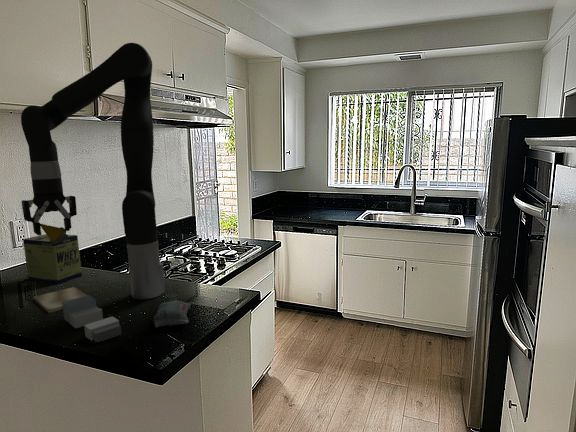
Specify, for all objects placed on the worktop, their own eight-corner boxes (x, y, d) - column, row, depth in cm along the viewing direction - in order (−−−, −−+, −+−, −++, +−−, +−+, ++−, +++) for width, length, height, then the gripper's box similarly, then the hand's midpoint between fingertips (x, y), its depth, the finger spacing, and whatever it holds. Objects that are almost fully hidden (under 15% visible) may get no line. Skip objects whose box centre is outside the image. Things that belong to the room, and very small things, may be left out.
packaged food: (192, 311, 116) (190, 295, 115) (188, 329, 104) (187, 311, 103) (160, 315, 115) (158, 298, 114) (153, 333, 103) (151, 315, 102)
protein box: (58, 284, 144) (53, 241, 142) (27, 280, 150) (21, 239, 147) (83, 275, 154) (78, 235, 151) (53, 272, 159) (47, 233, 157)
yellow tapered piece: (72, 244, 124) (43, 226, 117) (58, 251, 125) (29, 234, 118) (75, 231, 127) (47, 212, 120) (62, 238, 129) (34, 220, 122)
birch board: (74, 289, 138) (74, 286, 138) (92, 301, 126) (92, 298, 126) (33, 299, 129) (33, 296, 129) (49, 312, 118) (48, 309, 118)
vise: (90, 311, 118) (88, 295, 117) (123, 334, 103) (121, 315, 102) (64, 319, 113) (62, 301, 112) (94, 344, 98) (92, 324, 97)
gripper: (68, 175, 127) (74, 227, 130) (14, 178, 117) (22, 235, 120) (77, 175, 122) (83, 230, 125) (21, 179, 112) (29, 238, 115)
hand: (53, 232), depth 122 cm, fingers closed on yellow tapered piece, 7 cm apart
